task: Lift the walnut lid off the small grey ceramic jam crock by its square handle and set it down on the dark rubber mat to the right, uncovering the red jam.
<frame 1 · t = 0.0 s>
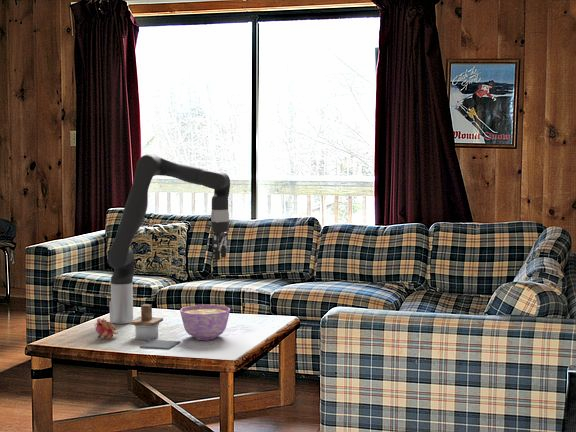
hand: (220, 258, 352), 29 cm above the table, tool pointing down, fingers open, 8 cm apart
flower: (106, 338, 335), on the table
lid: (146, 322, 335), point 6 cm above the table, touching jam crock
bowl of food: (205, 338, 335), on the table
mat: (159, 345, 323), on the table
jam crock: (146, 337, 336), on the table
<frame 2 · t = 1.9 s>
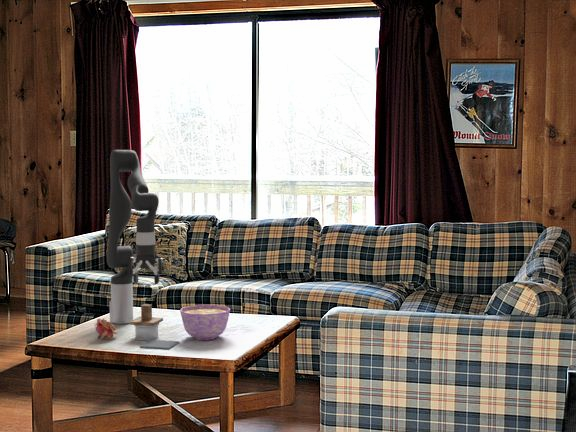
hand: (146, 283, 334), 22 cm above the table, tool pointing down, fingers open, 8 cm apart
nothing on the table moved.
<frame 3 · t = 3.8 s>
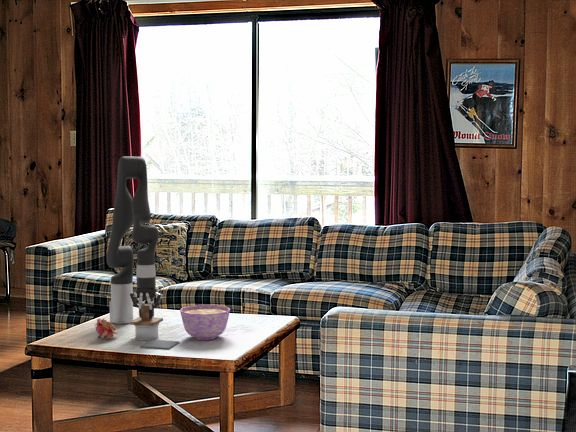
hand: (146, 317, 335), 8 cm above the table, tool pointing down, fingers closed on lid, 3 cm apart
lid: (146, 322, 335), point 6 cm above the table, touching gripper, jam crock
everything else where it was.
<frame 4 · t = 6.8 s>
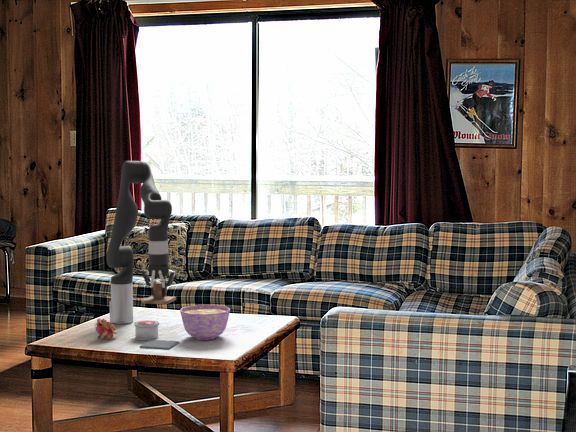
hand: (159, 296, 321), 19 cm above the table, tool pointing down, fingers closed on lid, 3 cm apart
lid: (159, 301, 322), point 17 cm above the table, touching gripper
everything else where it was.
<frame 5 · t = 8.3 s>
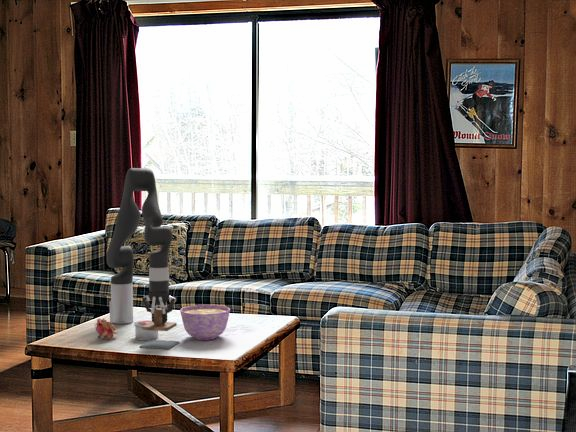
hand: (159, 322, 322), 9 cm above the table, tool pointing down, fingers closed on lid, 3 cm apart
lid: (159, 327, 322), point 7 cm above the table, touching gripper
everything else where it was.
when the fingers open (4 cm above the table, at t = 9.6 s): lid drops 1 cm, resting on mat.
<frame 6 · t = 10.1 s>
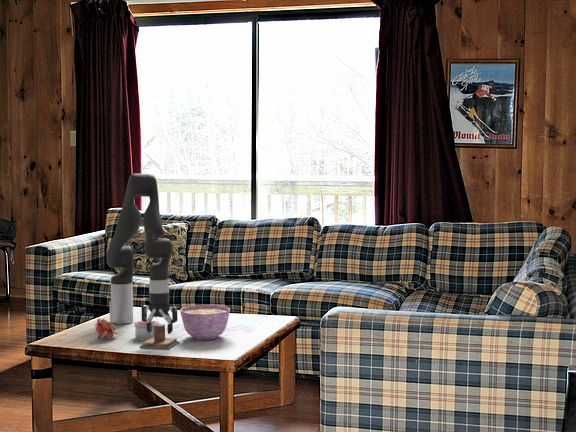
hand: (159, 332, 323), 5 cm above the table, tool pointing down, fingers open, 7 cm apart
lid: (159, 343, 323), point 1 cm above the table, touching mat
everything else where it was.
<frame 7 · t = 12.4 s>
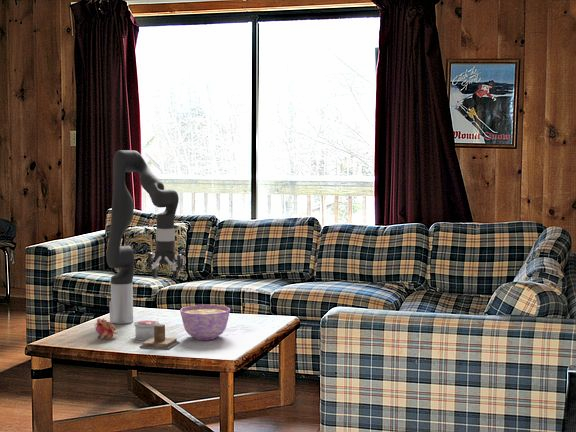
hand: (165, 278, 338), 23 cm above the table, tool pointing down, fingers open, 8 cm apart
nothing on the table moved.
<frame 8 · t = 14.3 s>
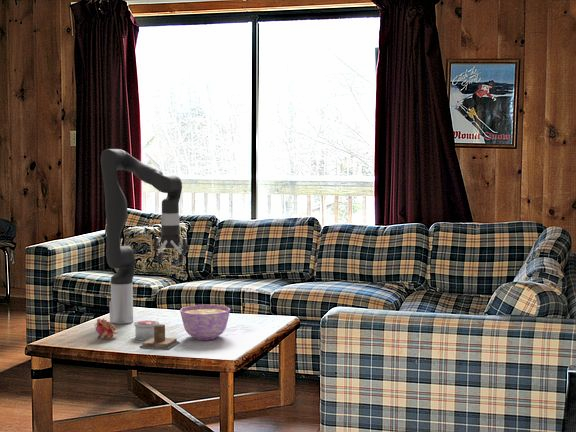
hand: (170, 262, 349), 28 cm above the table, tool pointing down, fingers open, 8 cm apart
nothing on the table moved.
at the end: lid inside the target area on the mat (0.0 cm from its centre), point 0.6 cm above the mat's base; lid touching mat; lid tilted 0° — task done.
